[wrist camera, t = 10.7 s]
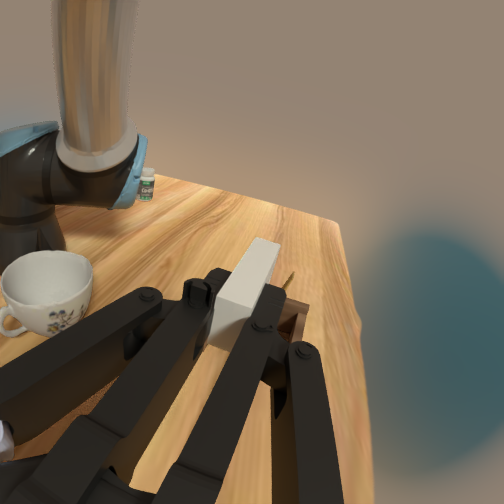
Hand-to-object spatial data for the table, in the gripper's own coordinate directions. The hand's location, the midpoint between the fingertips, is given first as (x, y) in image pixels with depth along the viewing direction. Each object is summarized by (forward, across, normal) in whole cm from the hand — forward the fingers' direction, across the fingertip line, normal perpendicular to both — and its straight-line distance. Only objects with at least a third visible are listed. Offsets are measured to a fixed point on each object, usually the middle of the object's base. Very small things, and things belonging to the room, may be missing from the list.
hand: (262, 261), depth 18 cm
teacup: (+3, -24, -21) cm, 32 cm away
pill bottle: (+54, -41, -22) cm, 72 cm away
